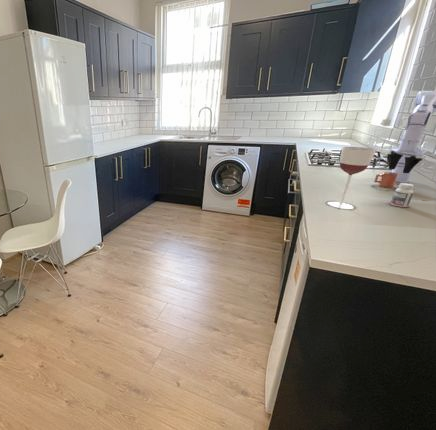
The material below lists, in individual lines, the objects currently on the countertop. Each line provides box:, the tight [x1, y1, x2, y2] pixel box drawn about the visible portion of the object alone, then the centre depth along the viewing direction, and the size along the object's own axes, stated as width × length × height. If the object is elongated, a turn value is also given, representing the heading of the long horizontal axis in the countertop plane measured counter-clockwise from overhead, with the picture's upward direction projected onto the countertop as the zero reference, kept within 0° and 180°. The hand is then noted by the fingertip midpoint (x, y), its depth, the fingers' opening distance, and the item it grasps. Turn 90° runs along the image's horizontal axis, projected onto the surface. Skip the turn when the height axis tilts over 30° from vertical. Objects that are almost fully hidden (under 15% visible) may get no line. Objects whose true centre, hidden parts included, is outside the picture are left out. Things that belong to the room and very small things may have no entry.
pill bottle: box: [390, 182, 415, 208], centre depth 113 cm, size 5×5×9 cm
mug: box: [373, 171, 398, 189], centre depth 136 cm, size 8×6×7 cm
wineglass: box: [327, 146, 377, 210], centre depth 110 cm, size 9×10×23 cm
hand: (398, 171), depth 129 cm, fingers open, 7 cm apart
